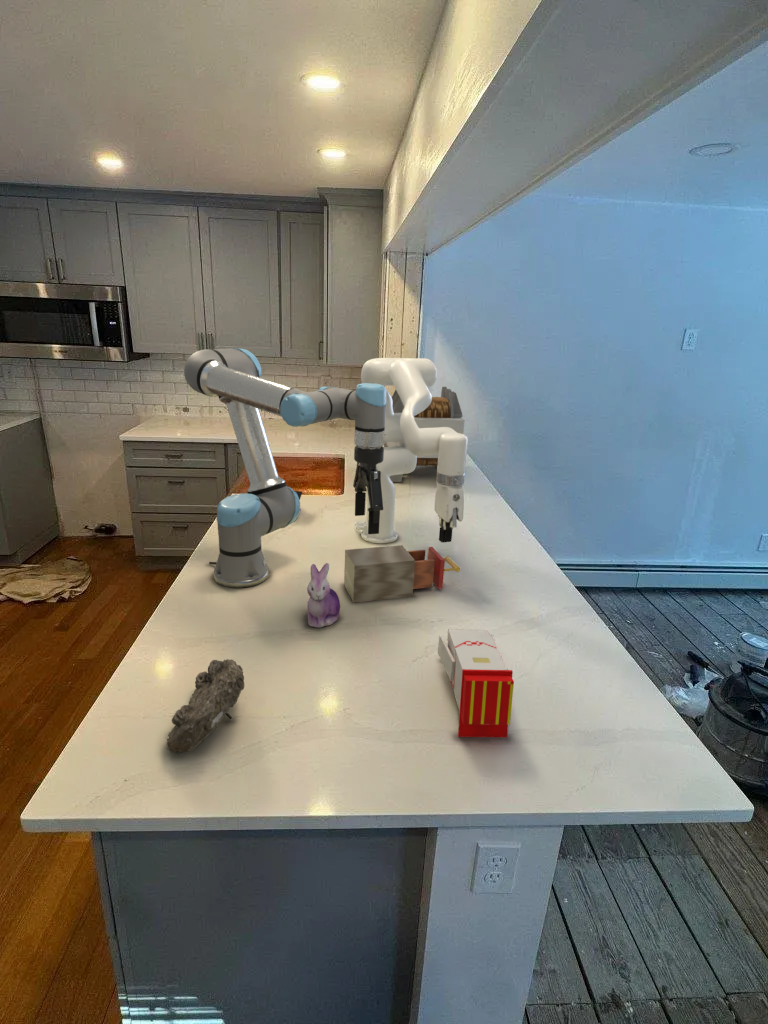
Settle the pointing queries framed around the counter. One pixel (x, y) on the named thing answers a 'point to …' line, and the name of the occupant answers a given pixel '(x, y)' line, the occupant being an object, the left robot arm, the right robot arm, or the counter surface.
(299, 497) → the figurine character
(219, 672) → the fossil
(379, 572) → the cabinet
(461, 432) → the transformer
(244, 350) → the left robot arm
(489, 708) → the toy
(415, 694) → the counter surface
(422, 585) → the drawer
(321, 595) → the figurine
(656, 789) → the counter surface
